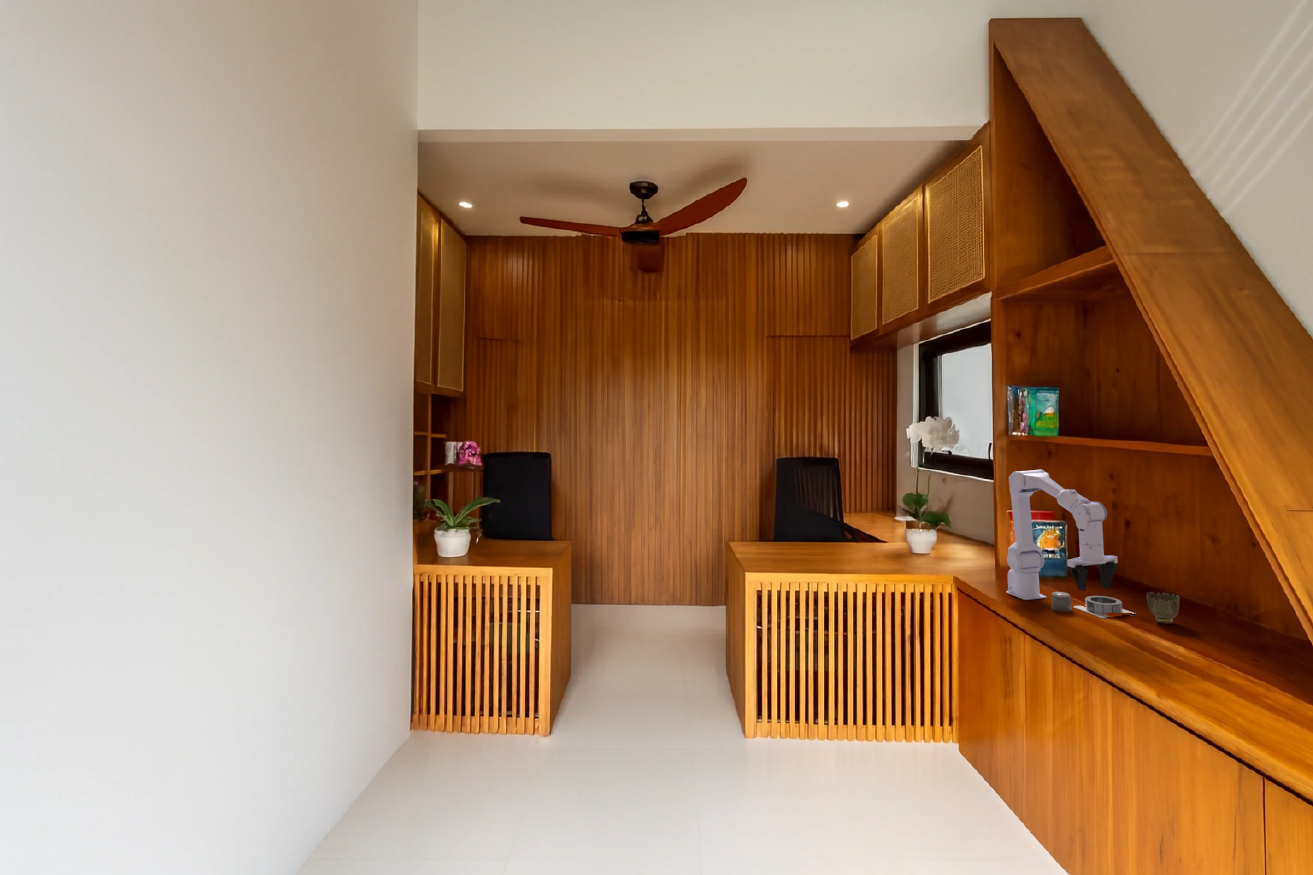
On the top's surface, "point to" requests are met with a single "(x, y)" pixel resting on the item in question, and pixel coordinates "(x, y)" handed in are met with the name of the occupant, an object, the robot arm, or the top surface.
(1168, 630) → the top surface
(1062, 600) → the cap
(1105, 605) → the flanged metal ring
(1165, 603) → the cup
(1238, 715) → the top surface
